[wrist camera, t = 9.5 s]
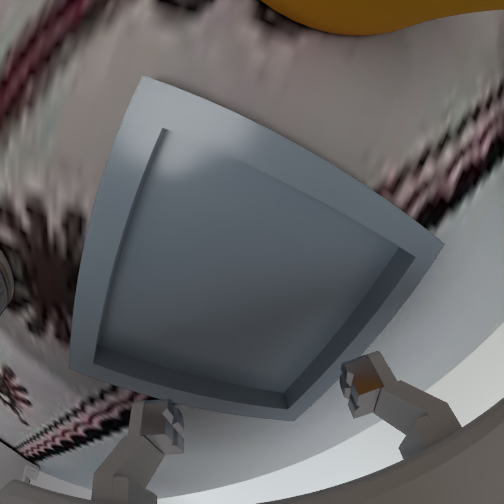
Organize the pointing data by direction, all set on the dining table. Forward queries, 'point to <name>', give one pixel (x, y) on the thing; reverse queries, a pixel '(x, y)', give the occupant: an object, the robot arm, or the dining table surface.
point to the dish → (233, 262)
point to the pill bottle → (5, 283)
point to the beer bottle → (374, 13)
